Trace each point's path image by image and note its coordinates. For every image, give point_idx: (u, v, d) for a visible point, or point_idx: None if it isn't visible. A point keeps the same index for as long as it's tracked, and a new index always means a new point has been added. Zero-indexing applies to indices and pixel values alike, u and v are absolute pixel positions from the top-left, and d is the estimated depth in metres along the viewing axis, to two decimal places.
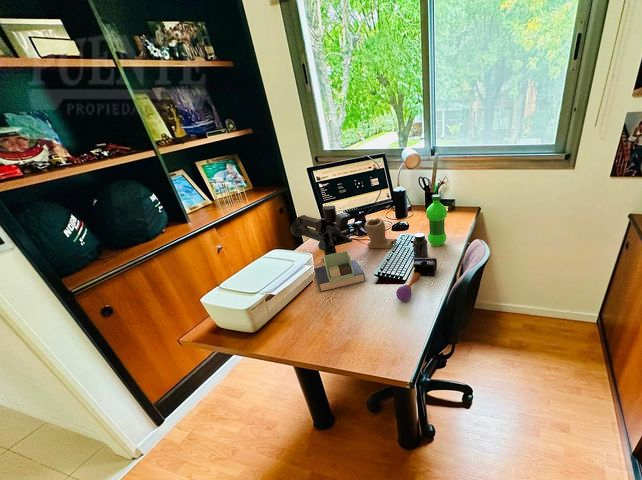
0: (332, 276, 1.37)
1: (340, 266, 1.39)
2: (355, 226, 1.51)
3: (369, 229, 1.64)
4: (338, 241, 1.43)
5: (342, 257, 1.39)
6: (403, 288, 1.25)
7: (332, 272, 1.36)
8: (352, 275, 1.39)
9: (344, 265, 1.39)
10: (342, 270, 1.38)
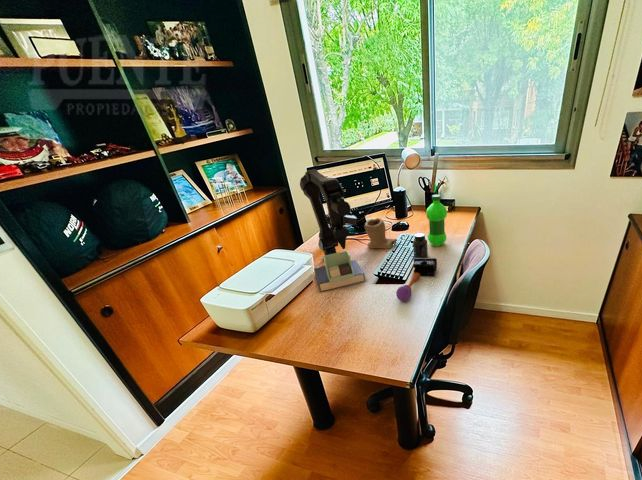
0: (332, 276, 1.37)
1: (340, 266, 1.39)
2: None
3: (369, 229, 1.64)
4: None
5: (342, 257, 1.39)
6: (403, 288, 1.25)
7: (332, 272, 1.36)
8: (352, 275, 1.39)
9: (344, 265, 1.39)
10: (342, 270, 1.38)
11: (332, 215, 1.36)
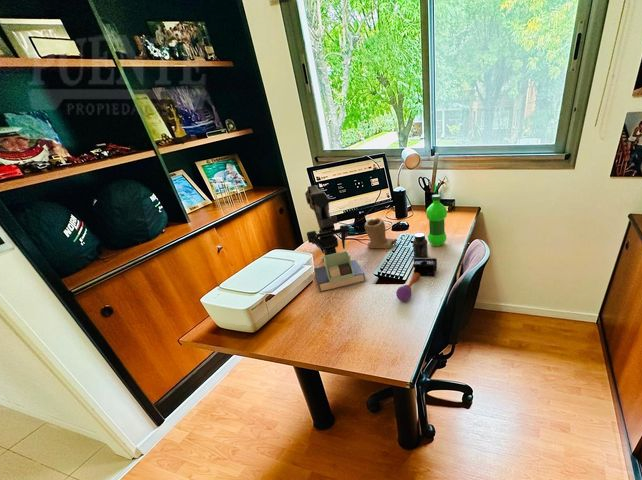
0: (332, 276, 1.37)
1: (340, 266, 1.39)
2: None
3: (369, 229, 1.64)
4: (314, 242, 1.43)
5: (342, 257, 1.39)
6: (403, 288, 1.25)
7: (332, 272, 1.36)
8: (352, 275, 1.39)
9: (344, 265, 1.39)
10: (342, 270, 1.38)
11: None
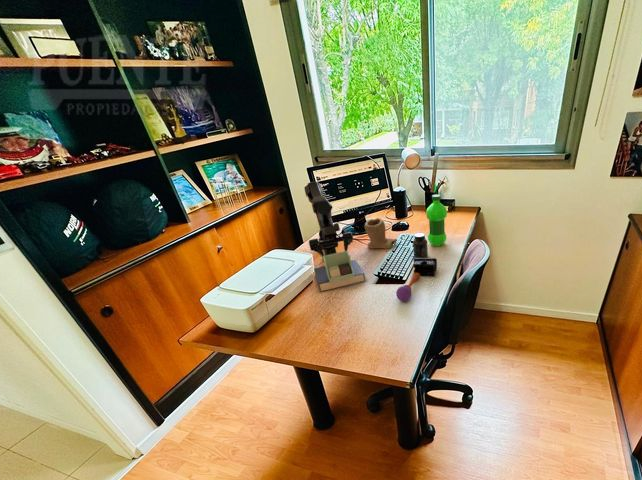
0: (332, 276, 1.37)
1: (340, 266, 1.39)
2: None
3: (369, 229, 1.64)
4: (316, 250, 1.40)
5: (342, 257, 1.39)
6: (403, 288, 1.25)
7: (332, 272, 1.36)
8: (352, 275, 1.39)
9: (344, 265, 1.39)
10: (342, 270, 1.38)
11: None
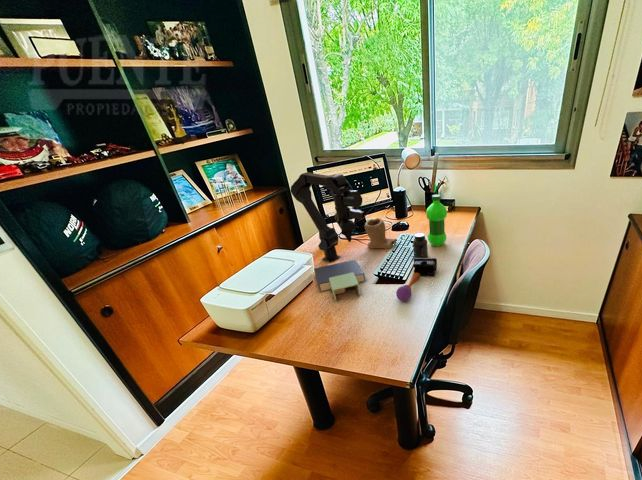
0: None
1: None
2: None
3: (369, 229, 1.64)
4: None
5: None
6: (403, 288, 1.25)
7: None
8: None
9: None
10: None
11: (339, 209, 1.43)
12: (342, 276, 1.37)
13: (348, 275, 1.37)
